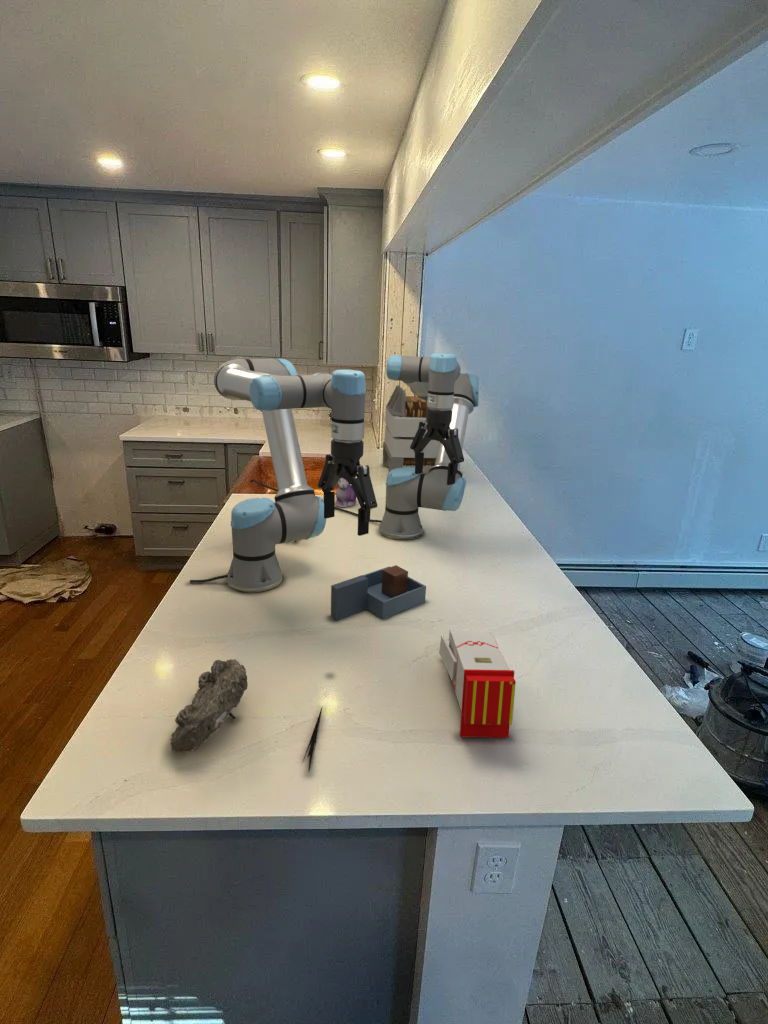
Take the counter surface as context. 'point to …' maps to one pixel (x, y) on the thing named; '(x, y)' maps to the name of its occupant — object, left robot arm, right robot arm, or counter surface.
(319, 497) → the left robot arm
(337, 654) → the counter surface
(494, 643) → the toy
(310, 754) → the feather
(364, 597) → the tray
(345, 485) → the figurine
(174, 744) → the fossil
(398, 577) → the block
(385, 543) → the counter surface
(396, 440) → the grey slatted box
